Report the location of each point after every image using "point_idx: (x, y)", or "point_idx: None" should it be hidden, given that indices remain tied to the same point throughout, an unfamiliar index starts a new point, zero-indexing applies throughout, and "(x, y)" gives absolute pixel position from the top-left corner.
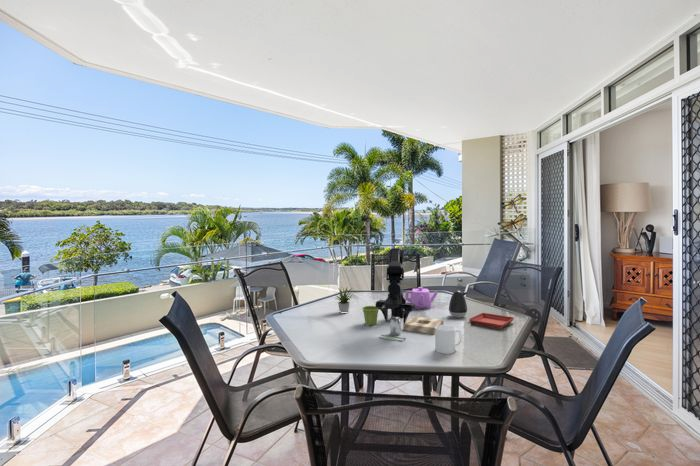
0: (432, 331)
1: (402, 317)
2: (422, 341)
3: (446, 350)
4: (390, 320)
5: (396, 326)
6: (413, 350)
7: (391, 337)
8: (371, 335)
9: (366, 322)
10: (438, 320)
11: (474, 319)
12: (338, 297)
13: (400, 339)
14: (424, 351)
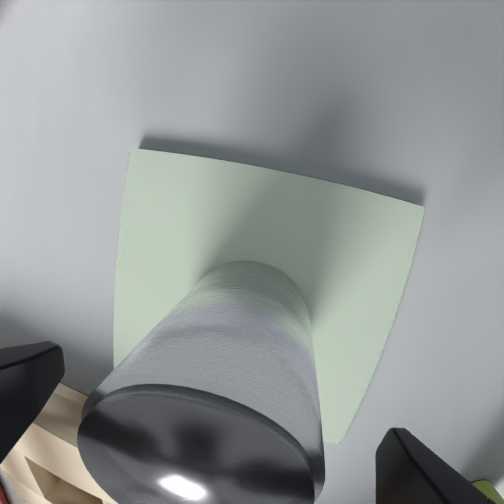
0: None
1: None
2: (11, 215)
3: None
4: (308, 410)
5: (180, 308)
6: (59, 4)
7: (274, 209)
8: (492, 271)
9: (493, 488)
10: (27, 496)
11: (2, 498)
12: None
13: (156, 166)
14: (9, 30)
